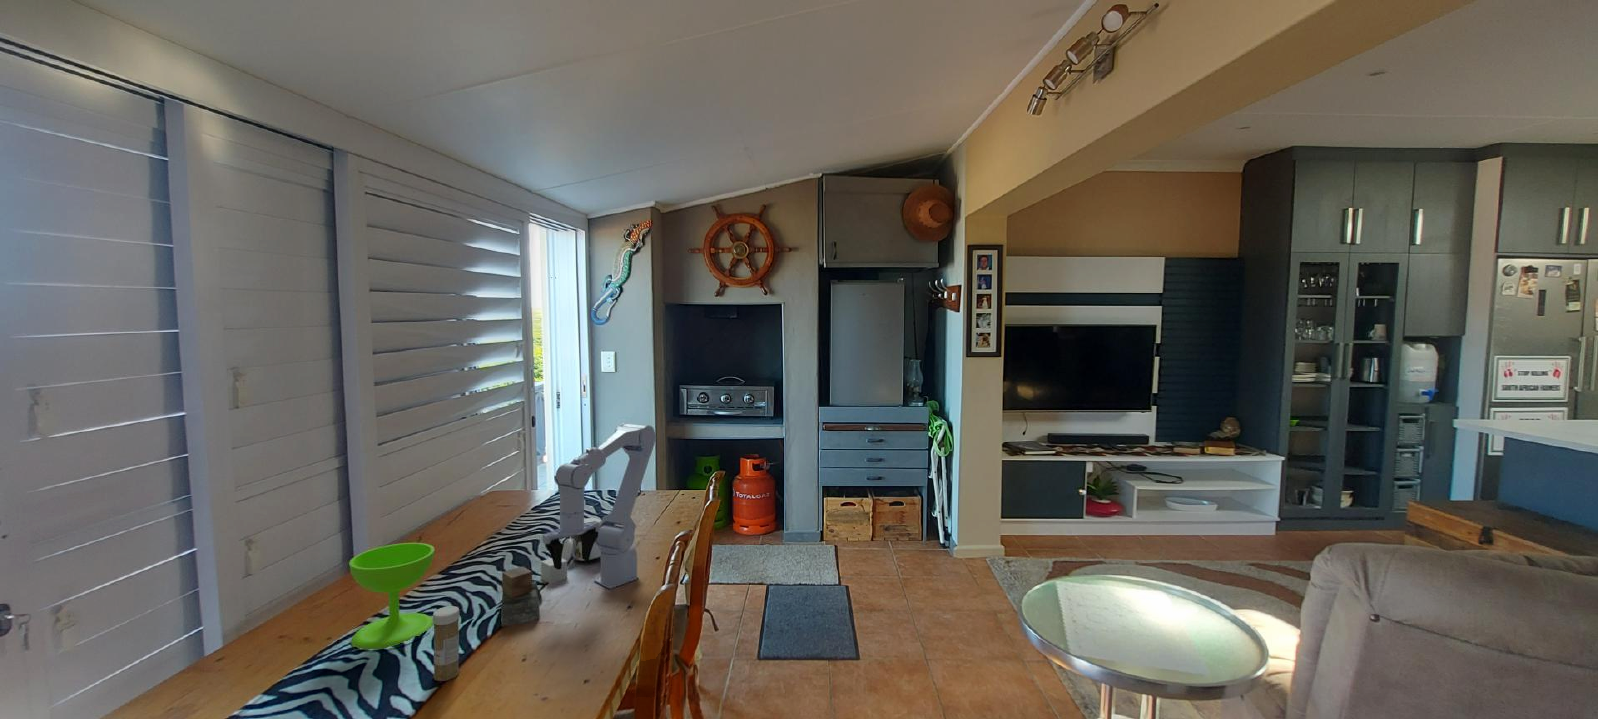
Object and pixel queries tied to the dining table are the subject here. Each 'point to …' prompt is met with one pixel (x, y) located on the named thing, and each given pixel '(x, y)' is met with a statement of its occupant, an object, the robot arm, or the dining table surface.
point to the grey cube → (553, 571)
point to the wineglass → (392, 591)
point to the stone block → (521, 607)
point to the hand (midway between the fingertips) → (571, 563)
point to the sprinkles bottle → (446, 643)
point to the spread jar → (580, 548)
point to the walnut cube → (517, 582)
